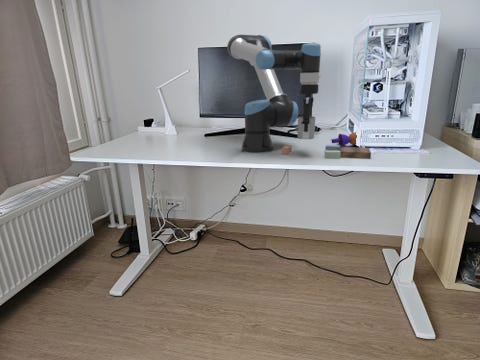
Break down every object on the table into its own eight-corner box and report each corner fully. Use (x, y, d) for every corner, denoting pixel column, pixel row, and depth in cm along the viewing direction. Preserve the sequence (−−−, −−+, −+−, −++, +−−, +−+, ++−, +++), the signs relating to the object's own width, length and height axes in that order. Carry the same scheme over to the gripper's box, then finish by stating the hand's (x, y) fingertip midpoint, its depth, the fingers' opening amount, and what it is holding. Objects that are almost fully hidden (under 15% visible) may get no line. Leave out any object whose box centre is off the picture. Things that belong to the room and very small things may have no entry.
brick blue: (325, 152, 142) (325, 146, 141) (326, 151, 145) (326, 144, 144) (338, 153, 140) (339, 146, 139) (339, 152, 143) (340, 145, 142)
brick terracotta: (288, 155, 139) (288, 148, 138) (281, 154, 140) (281, 148, 139) (291, 152, 144) (291, 145, 143) (285, 151, 146) (285, 145, 145)
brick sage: (325, 159, 130) (325, 151, 130) (324, 157, 133) (324, 150, 132) (340, 159, 129) (340, 152, 129) (339, 157, 132) (339, 150, 131)
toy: (333, 153, 150) (366, 148, 148) (332, 137, 148) (365, 132, 145) (330, 147, 161) (360, 142, 158) (328, 132, 158) (359, 127, 155)
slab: (339, 157, 131) (340, 151, 131) (339, 152, 141) (339, 147, 140) (370, 158, 128) (371, 152, 127) (368, 153, 137) (368, 147, 137)
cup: (295, 138, 134) (296, 117, 131) (300, 135, 143) (301, 115, 140) (312, 139, 131) (313, 118, 129) (316, 135, 140) (317, 115, 137)
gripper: (317, 84, 119) (313, 142, 126) (319, 83, 139) (316, 132, 146) (297, 84, 121) (294, 141, 128) (302, 83, 141) (300, 132, 148)
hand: (306, 136), depth 137 cm, fingers closed on cup, 10 cm apart
